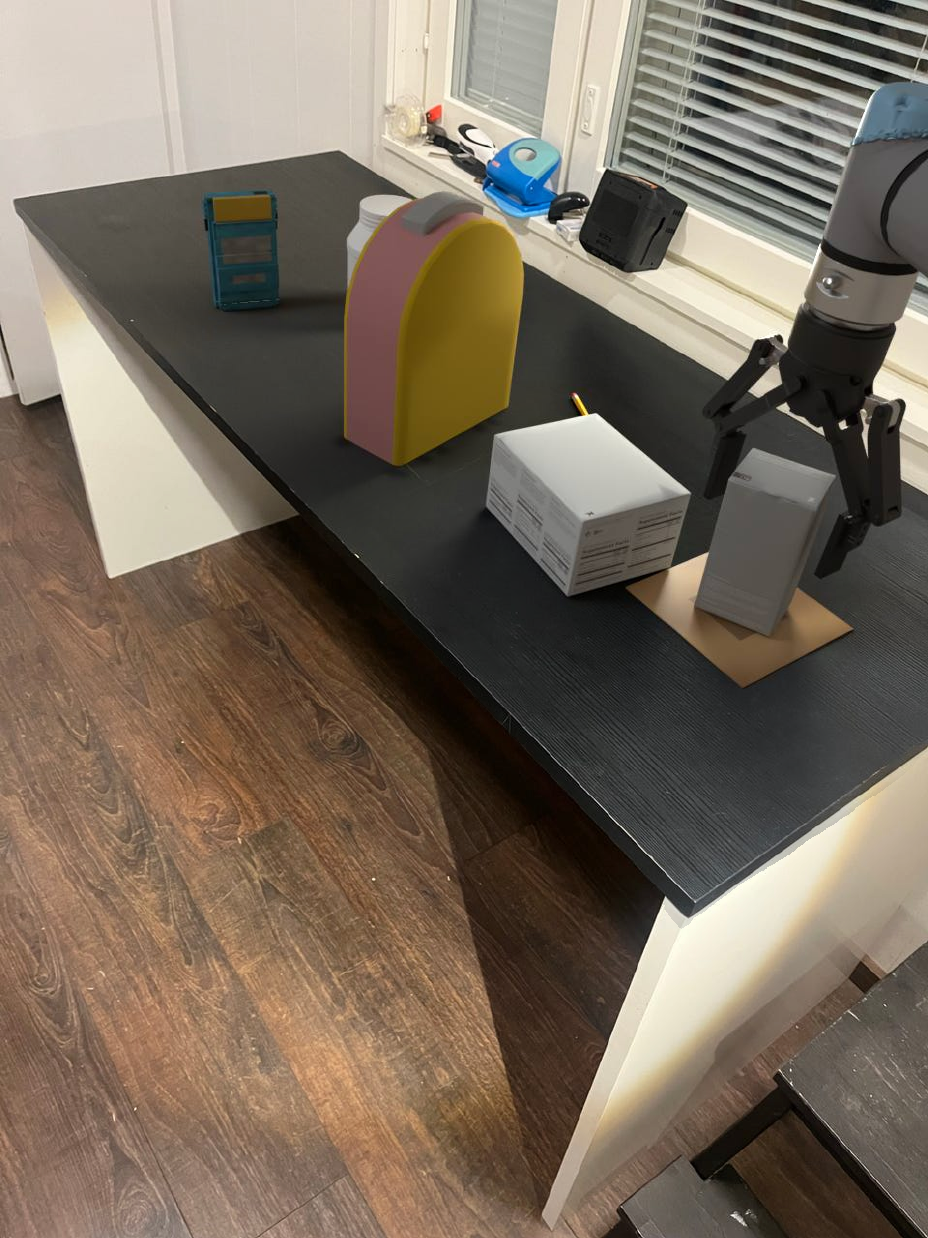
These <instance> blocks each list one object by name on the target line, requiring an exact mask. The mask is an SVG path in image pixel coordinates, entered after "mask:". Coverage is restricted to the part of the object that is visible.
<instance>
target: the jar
mask: <svg viewBox="0 0 928 1238" xmlns="http://www.w3.org/2000/svg"><path fill="white" fill-rule="evenodd" d="M412 200H413V199H411V198H409V197H405V196H402V195H401V196H400V195H395V194H375V195H369V196H366V197H364V198H362V199H361V200H360V202H359V211H358V212H359V216H358V217H359V219H358V221H357V222H356V224H355V226H354V227H353V228H352V230H351V231H350V232H349V234H348V236H347V238H346V249H347V282H346V283H347V291H348V287H349V283H350V280H351V276H352V273H353V269H354V267H355V264H356V262H357V260H358V258H359V256H360V254H361V252H362V249H363V247H364V245H365V243H366V242H367V241H368V239H369V238H370V236H371V235H372V234H373V232H374V231H375V229H376V228H377V227H378V225H379V224H380V223H381V222H382V221H383V220H384V219H385V218H386V217H388V216H389V215H390V214H391V213H392V212H393V211H394V210H395V209H397V208H398V207H400V206H402V205H404V204H406V203H408V202H410V201H412Z"/></svg>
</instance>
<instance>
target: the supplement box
mask: <svg viewBox="0 0 928 1238" xmlns="http://www.w3.org/2000/svg"><path fill="white" fill-rule="evenodd" d="M490 461H491V462H490V469H489V478H488V485H487V492H486V500H485V501H486V502H485V507H486V508H487V509H488V511H490V512H491V514H492V515H493V516H494V517H495V518H496V519H497V520H498V521H499V522H500V523H501V525H502V526H503V527H504V529H506V530H507V532H508V533H510V535H512V537H513V538H514V539H515V540H516V541H517V543H519V545H520V546H521V547H522V548H523V549H524V550H525V551H526V552H527V553H528V554H529V556H530V557H531V558H532V559H533V560H534V561H535V563H537V564H538V566H539V567H540V568H541V569H542V570H543V571H544V572H545V573H546V574H547V576H548V577H549V578H550V579H551V580H552V581H553V582H554V583H555V585H557V587H558V588H559V589H560V590H561V591H562V592H563V593H564V594H565V596H566V597H572V596H574V595H578V594H582V593H585V592H589V591H592V590H596V589H598V588H599V589H600V588H602V587H606V586H609V585H613V584H617V583H619V582H624V581H627V580H630V579H634V578H638V577H640V576H644V575H648V574H651V573H655V572H659V571H661V570H662V571H663V570H666V569H670V568H671V567H672V562H673V558H674V555H675V552H676V549H677V545H678V542H679V538H680V536H681V535H680V534H681V530H682V528H683V523H684V519H685V516H686V513H687V510H688V506H689V504H690V503H689V502H690V499H691V496H692V492H691V491H689V490H688V489H687V488H686V487H685V486H683V485H682V484H681V483H680V482H678V481H677V480H676V479H674V477H672V476H671V475H670V474H669V473H668V472H666V471H665V470H664V469H663V468H662V467H661V466H659V465H658V464H657V463H656V462H655V461H654V460H652V459H651V458H650V457H649V456H647V455H646V454H645V453H644V452H643V451H642V450H640V449H639V448H638V447H637V446H636V445H635V444H633V443H632V442H630V440H628V439H627V438H626V437H625V436H624V435H623V434H621V433H620V432H619V431H618V430H617V429H615V428H614V427H613V426H612V424H610V423H609V422H607V421H606V420H605V419H604V418H603V417H601V416H600V415H599V414H598V413H591V414H588V415H585V416H582V415H580V416H575V417H571V418H565V419H561V420H557V421H553V422H552V421H551V422H547V423H542V424H538V425H533V426H528V427H522V428H518V429H513V430H508V431H503V432H500V433H496V434H494V435H493V443H492V451H491V460H490Z"/></svg>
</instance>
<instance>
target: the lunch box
mask: <svg viewBox="0 0 928 1238" xmlns="http://www.w3.org/2000/svg"><path fill="white" fill-rule="evenodd" d="M484 208H485V206H484V205H483V203H481V202H478V201H476V200H473V199H471V198H470V197H469V198H468V197H466V196H463V195H460V194H458V193H455V192H452V191H445V190H444V191H443V190H442V191H437V192H436V191H435V192H433V193H430V194H428V195H426V196H424V197H422V198H414V199H412V201H410V202H408V203H406V204H404V205H402V206H400V207H398V208H397V209H395V210H394V211H393V212H392V213H391V214H390V215H389V216H388V217H386V218H385V219H384V220H383V221H382V222H381V223H380V224H379V225H378V227H377V228H376V229H375V231H374V232H373V234H372V235H371V236H370V238H369V239H368V241H367V242H366V243H365V245H364V247H363V249H362V252H361V254H360V256H359V258H358V260H357V262H356V264H355V267H354V269H353V273H352V276H351V280H350V283H349V287H348V291H347V292H346V298H345V308H344V318H343V321H344V322H343V323H344V324H343V328H344V329H343V331H344V332H343V334H344V335H343V337H344V339H343V347H344V349H343V366H344V367H343V388H344V389H343V437H344V438H345V439H346V440H347V441H349V442H350V443H352V444H354V445H356V446H358V447H360V448H361V449H363V450H365V451H367V452H369V453H371V454H372V455H374V456H376V457H378V458H379V459H381V460H383V461H385V462H387V463H388V464H389V465H392V466H395V467H402V466H404V465H406V464H408V463H409V462H411V461H413V460H415V459H417V458H419V457H420V456H422V455H424V454H426V453H428V452H429V451H431V450H433V449H435V448H436V447H438V446H441V445H442V444H444V443H446V442H447V441H449V440H451V439H453V438H455V437H456V436H458V435H459V434H462V433H463V432H466V431H467V430H469V429H471V428H473V427H474V426H476V425H478V424H480V423H481V422H483V421H485V420H487V419H489V418H491V417H492V416H494V415H496V414H498V413H500V412H501V411H503V410H505V409H507V408H509V403H510V396H511V395H510V394H511V387H512V379H513V373H514V372H513V371H514V366H515V365H514V364H515V357H516V348H517V341H518V333H519V326H520V320H521V319H520V318H521V311H522V303H523V295H524V279H525V278H524V277H525V272H524V265H523V264H524V263H523V257H522V252H521V250H520V248H519V245H518V243H517V239H516V238H515V236H514V234H513V233H512V231H510V229H508V227H506V225H504V223H502V222H501V221H499V220H496V219H493V218H491V217H489V216H485V215H484Z"/></svg>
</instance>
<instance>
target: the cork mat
mask: <svg viewBox="0 0 928 1238" xmlns="http://www.w3.org/2000/svg"><path fill="white" fill-rule="evenodd" d="M708 553H709V551H708V552H705V553H703V554H700V555H698V556H696V557H694V558H691V559H689V560H686V561H684V562H682V563H679V564H677V565H675V566H671V567H669V568H666V569H664V570H662V571H661V572H658V573H656V574H654V575H651V576H648V577H646V578H643V579H641V580H639V581H637V582H634V583H632V584H630V585H627V586H625V590H627V591H628V592H629V593H630V594H631V595H633V596H634V597H635V598H636V599H637V600H638V601H639V602H641V603H642V604H643V605H645V607H646V608H648V609H649V610H650V611H652V613H653V614H654V615H656V616H657V617H658V618H659V619H660V620H662V621H663V622H664V623H665V624H667V625H668V627H670V628H671V629H672V630H673V631H675V632H676V633H677V634H678V635H679V636H680V637H682V638H683V639H684V640H685V641H687V642H688V643H689V644H690V645H691V646H692V647H693V648H695V650H696V651H698V652H699V653H700V654H702V655H703V656H704V657H705V658H706V659H707V660H708V661H709V662H711V663H712V664H713V665H714V666H715V667H717V668H718V669H719V670H720V671H722V672H723V673H724V674H725V675H726V676H727V677H728V678H730V679H731V680H732V681H733V682H734V683H735V684H737V686H739V687H740V688H741V689H744V688H746V687H749V686H750V685H752V684H754V683H756V682H758V681H759V680H761V679H763V678H765V677H767V676H768V675H770V674H772V673H774V672H776V671H778V670H780V669H782V668H784V667H786V666H788V665H789V664H791V663H793V662H795V661H797V660H798V659H801V658H802V657H804V656H806V655H808V654H811V652H814V651H816V650H818V649H819V648H821V647H824V645H827V644H829V643H830V642H832V641H835V640H836V639H838V638H840V637H842V636H844V635H846V634H847V633H849V632H851V631H853V630H854V628H853V627H851V626H850V625H849V624H848V623H846V622H845V621H844V620H842V619H841V618H840V617H838V616H837V615H835V614H834V613H833V612H832V611H830V610H829V609H827V608H826V607H824V606H823V605H822V604H821V603H820V602H818V601H817V600H815V599H814V598H813V597H811V596H810V595H808V594H807V593H806V592H804V591H803V590H802V589H800V588H799V587H797V588H796V591H795V594H794V596H793V599H792V601H791V603H790V605H789V607H788V609H787V610H786V612H785V614H784V616H783V617H782V619H781V621H780V623H779V624H778V626H777V628H776V630H775V631H774V633H773V635H772V636H771V637H768V636H766V635H763V634H761V633H759V632H756V631H754V630H751V629H749V628H746V627H744V626H741V625H739V624H736V623H734V622H731V621H729V620H726V619H724V618H721V617H719V616H717V615H714V614H711V613H709V612H707V611H704V610H702V609H699V608H697V607H695V606H694V604H695V601H696V597H697V593H698V589H699V585H700V582H701V578H702V575H703V571H704V568H705V564H706V560H707V557H708Z"/></svg>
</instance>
